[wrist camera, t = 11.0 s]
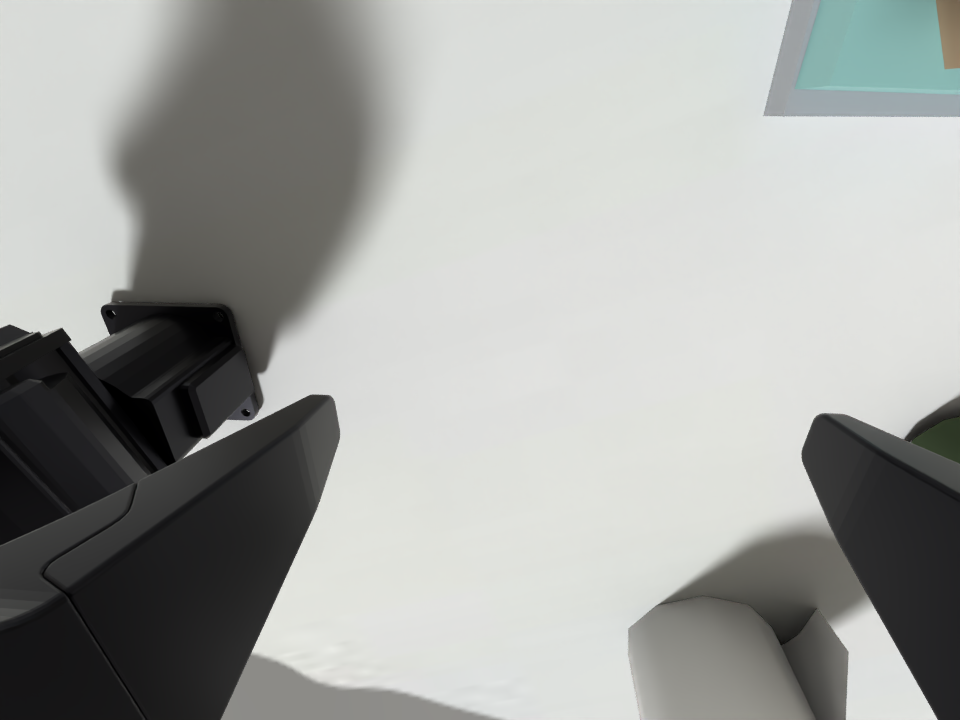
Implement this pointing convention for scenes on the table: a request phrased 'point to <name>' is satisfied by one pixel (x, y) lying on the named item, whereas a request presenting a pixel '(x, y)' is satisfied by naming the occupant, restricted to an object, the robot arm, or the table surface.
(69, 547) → the robot arm
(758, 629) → the toilet tissue
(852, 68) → the teal slab
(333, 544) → the table surface
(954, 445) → the character mug
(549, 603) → the table surface
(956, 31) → the walnut pillar
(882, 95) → the slate slab
